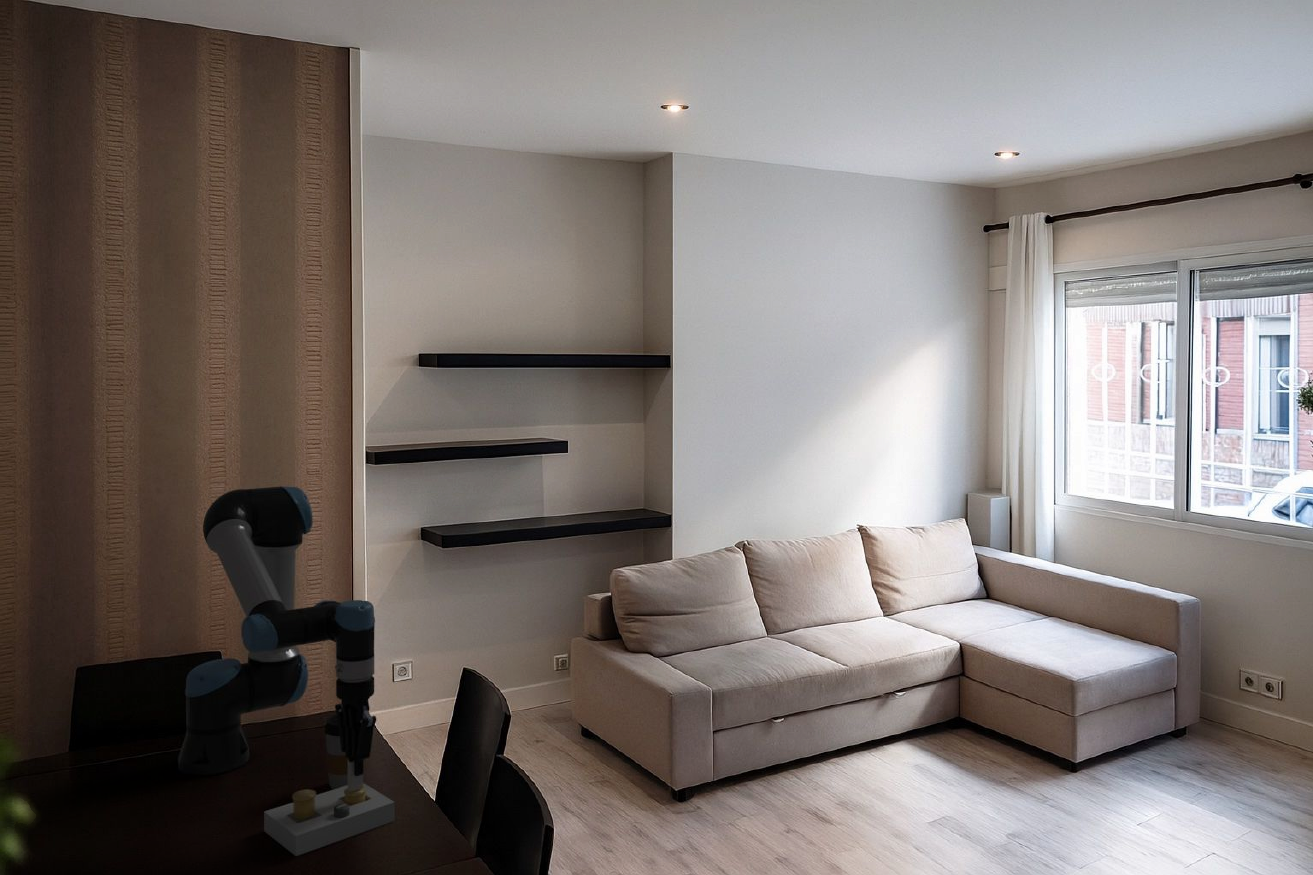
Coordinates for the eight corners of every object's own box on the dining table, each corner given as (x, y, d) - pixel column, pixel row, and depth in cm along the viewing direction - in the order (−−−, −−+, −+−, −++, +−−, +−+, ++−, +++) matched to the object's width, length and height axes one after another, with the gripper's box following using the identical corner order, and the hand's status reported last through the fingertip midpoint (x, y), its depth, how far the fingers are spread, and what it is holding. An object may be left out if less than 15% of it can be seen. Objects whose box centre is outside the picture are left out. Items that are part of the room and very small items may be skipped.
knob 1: (288, 813, 188) (288, 793, 188) (309, 806, 191) (309, 787, 191) (298, 821, 185) (298, 801, 185) (319, 813, 188) (319, 794, 188)
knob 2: (340, 808, 196) (340, 789, 196) (359, 801, 199) (359, 783, 199) (350, 815, 193) (350, 796, 193) (370, 808, 196) (370, 789, 196)
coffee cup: (351, 794, 207) (351, 727, 206) (317, 790, 209) (317, 724, 208) (370, 779, 215) (370, 714, 214) (337, 775, 217) (337, 711, 216)
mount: (264, 830, 190) (264, 802, 189) (360, 799, 205) (360, 772, 205) (296, 856, 180) (295, 826, 180) (394, 820, 195) (394, 793, 195)
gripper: (323, 673, 196) (323, 784, 198) (354, 688, 187) (354, 804, 189) (356, 666, 202) (356, 774, 203) (388, 680, 193) (388, 793, 194)
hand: (355, 788), depth 196 cm, fingers closed
